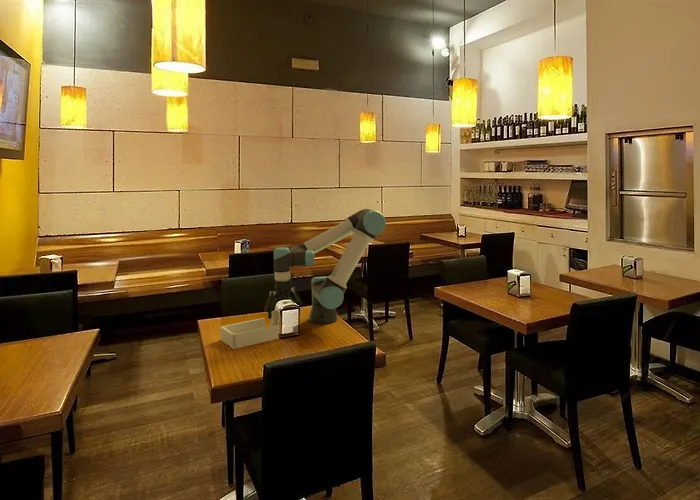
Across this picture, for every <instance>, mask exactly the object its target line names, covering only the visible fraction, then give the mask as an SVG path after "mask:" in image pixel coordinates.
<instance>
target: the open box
mask: <svg viewBox="0 0 700 500" xmlns="http://www.w3.org/2000/svg"><path fill="white" fill-rule="evenodd" d="M219 328H220V329H219V331H220V341H222V342H223V343H224V344H226V345H227V346H228V345H229V347H230V348H231V349H232V350H237V349H240V348H243V347H244V348H245V347H249V346H253V345H257V344H262V343H265V342H271V341H274V340H279V334H278V325H275V324H274V326H272V325H270V326H266V318H265V317H262V318H255V319H252V320H251V319H250V320H246V321H241V322H236V323H232V324H231V323H230V324H226V325H222V326H220V327H219Z"/></svg>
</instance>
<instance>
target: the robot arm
mask: <svg viewBox="0 0 700 500" xmlns="http://www.w3.org/2000/svg"><path fill="white" fill-rule="evenodd" d="M386 223H387V221H386V218H385V216H384V214H383V213H381V211H378V210H377V209H376V210H375V209H371V208H364V209H363V208H362V209H360V210H358V211H356V212H355V213H353V214H352V215H351V214H350V216H348V217H346V218H345V220H344V221H343V222H341V223H339V224H337V225H335V226H333V227H331V228H329V229H327V230H326V231H324V232H322V233H320V234H317V235H315V236H314V237H312V238H311V239H308V240H307V241H305V242H303V243H302V244H299V245H294V246H292V247H291V248H290V247H286V246H284V247H282V246H281V247H276V248H274V249H273V270H274V271H273V273H274V288H275V290H274V291H271V290H270V291H269V292H268V293H269V294H268V298H267V300H266V302H265V305H264V307H263V311H264V312H266V313H267V318H268V319H269V325H270V326H274V325H275V316H274V312H273V310H274V309H275V307H276V306H277V304H278V303H279V301H281V300H284V299H289V300H290V301H291V302H292V303H293V302H294V303H296V304H297V305H299V306H298V307H299V312H301V311H300V310H301V309H300V308H301V306H302V305H303V304H304V303H303V301H302V299H301V296H300V295H299V293H298V289H297V287H294V286H292V283H291V268H294V267H296V268H297V267H309V266H313V265H315V262H316V261H315V260H316V257H315V254H316V253H318V252H320V251H323V250H324V249H326V248H328V247H330V246H332V245H333V244H335V243H338V242H339V241H341V240H343V239H345V238H346V237H348V236H350V235H352V237H351V239H350V242H349V243H348V245H347V247H346V248H345V250H344V251H343V254H342V255H341V257H340V258H339V260H338V262H337V264H336V265H335V267H334V269H333V271H332V273H331V274H330V275H328V276H316V277H312V279H311V283H310V284H311V307H310V308H311V309H310V312H309V314H308V315H309V316H308V317H309V318H308V321H309V322H311V323H314V324H329V323H334V321H335V322H337V321H338V318H339V317H338V316H339V315H338V312H337V310H336V308H338V307H340V306H341V304H342V303H343V302H344V294H345V292H346V290H347V288H348V287H347V283H348V281H349V279H350V277H351V276H352V274H353V272H354V270H355V268H356V267H357V265H358V263H359V261H360V260H361V258H362V256H363V254H364V253H365V251H366V249H367V248H368V246H369V244H370V243H371V242H374V241H375V240H376V238H377V236H378V235H380V234H381V233H383V232H384V231H385V229H386ZM291 286H292V287H291ZM291 293H293V294H292V295H294V297H293V296H292V295H291ZM294 303H293V304H294Z"/></svg>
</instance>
